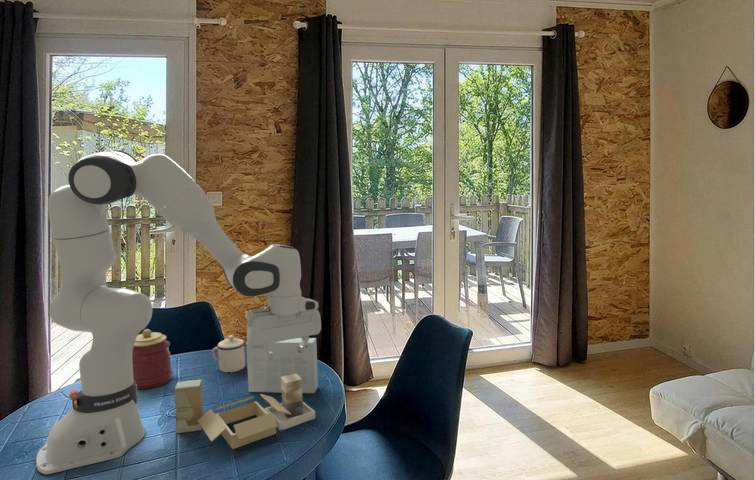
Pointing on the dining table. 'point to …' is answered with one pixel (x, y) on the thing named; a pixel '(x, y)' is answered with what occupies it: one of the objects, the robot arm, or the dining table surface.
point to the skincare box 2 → (282, 365)
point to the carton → (244, 430)
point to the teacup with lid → (230, 354)
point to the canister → (151, 360)
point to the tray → (290, 422)
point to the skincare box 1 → (188, 405)
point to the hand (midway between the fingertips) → (285, 355)
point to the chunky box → (292, 395)
